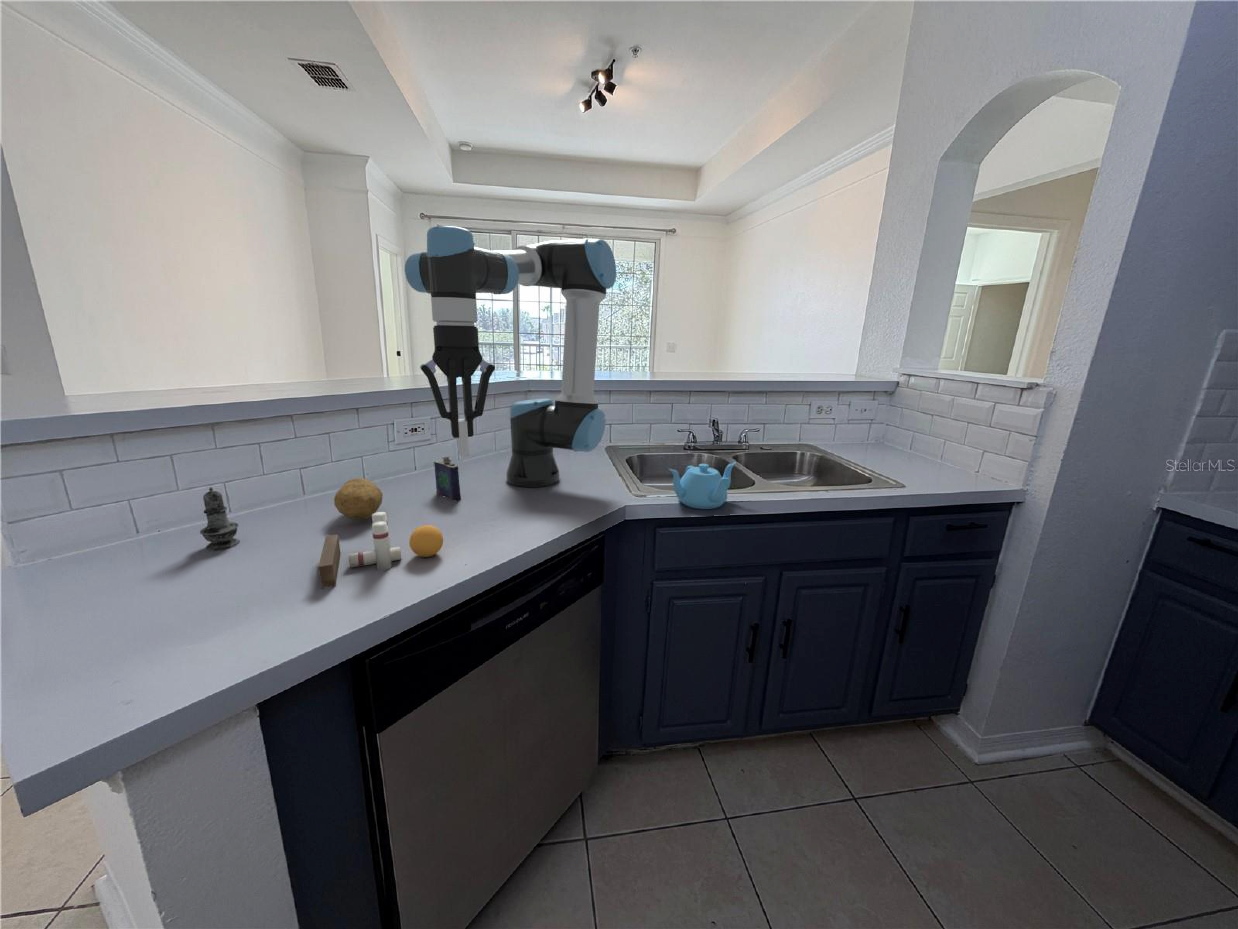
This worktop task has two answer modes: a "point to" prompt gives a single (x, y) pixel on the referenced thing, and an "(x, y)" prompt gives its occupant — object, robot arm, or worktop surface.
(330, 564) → the brown long rectangular block
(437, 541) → the ball
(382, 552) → the pin
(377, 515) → the pin
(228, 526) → the salt shaker
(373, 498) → the potato
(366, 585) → the worktop surface
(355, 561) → the front pin
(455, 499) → the flask
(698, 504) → the teapot
